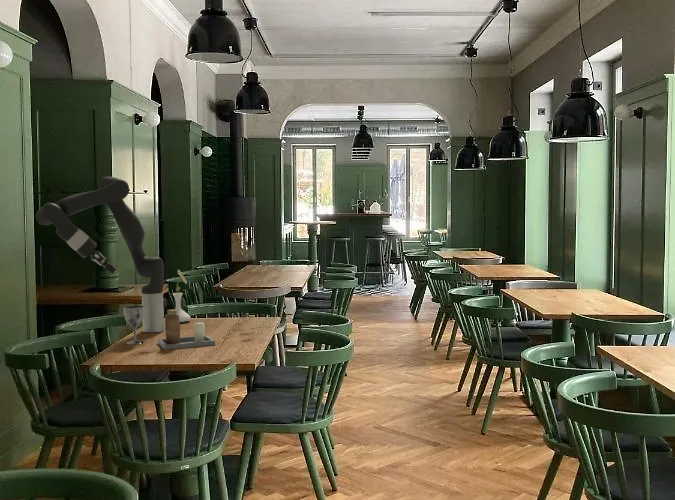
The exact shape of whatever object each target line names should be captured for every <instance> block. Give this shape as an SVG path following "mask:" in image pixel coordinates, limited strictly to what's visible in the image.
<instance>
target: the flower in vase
mask: <svg viewBox="0 0 675 500" xmlns="http://www.w3.org/2000/svg"><path fill="white" fill-rule="evenodd" d="M177 273H178V275H179V279H178V281H177V282H176V283H177V284H176V288H175V291H176V292H174V293H172V296H173V297H174V301H175V309H174V310H177V314H178V315H179V322H180V323H184V322H188V321H190V320H191V319H192V318H191V316H190V315H189V314H188V313H187V312H186V311H184V310H183V309H182V305H181V300H182V296H183V294H184V293H183V292H179V291H180V290H181V287H180V286H179V282H180V280H182V282H183V283H185V285H187V284H188V281H187V279H186V278H185V276H184V274H183V273H182V272H181V270H180V269H177Z"/></svg>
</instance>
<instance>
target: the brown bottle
mask: <svg viewBox="0 0 675 500" xmlns="http://www.w3.org/2000/svg"><path fill="white" fill-rule="evenodd" d="M166 312H167V313H166V314H164V328H165V339H166V344H167V345H168V344H178V343H180V337H181V333H180V332H181V327H180V323H181V322H179V315H178V314H177V310H175V309H167V311H166Z"/></svg>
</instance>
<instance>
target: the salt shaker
mask: <svg viewBox="0 0 675 500" xmlns="http://www.w3.org/2000/svg"><path fill="white" fill-rule="evenodd" d="M193 325H194V329H193V330H194V336H195V342H200V341H205V335H206V334H205V333H206V332H205V322H202V321H201V322H194V323H193Z"/></svg>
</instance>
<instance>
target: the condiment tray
mask: <svg viewBox="0 0 675 500" xmlns="http://www.w3.org/2000/svg"><path fill="white" fill-rule="evenodd" d="M156 341H157V344H158V346H159V347H161V348H162V349H163V350H164V351H166V350H177V349H187V348H198V347H199V348H200V347H208V346H216V340H215V339H214V338H212V337H211V336H209V335H207V334H205V341H200V342H195V335H191V336H182V337H181V336H180V343H178V344H168V345H167V344H166V338H160V339H159V338H158V339H157V340H156Z"/></svg>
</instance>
